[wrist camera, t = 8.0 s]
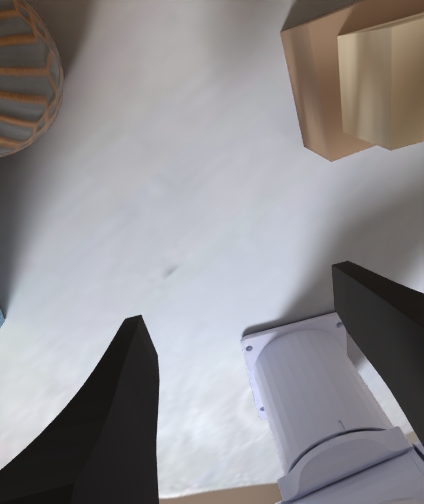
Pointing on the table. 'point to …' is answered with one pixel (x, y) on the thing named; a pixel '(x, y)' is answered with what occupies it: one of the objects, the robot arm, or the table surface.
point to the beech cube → (384, 82)
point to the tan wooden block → (331, 70)
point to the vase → (26, 77)
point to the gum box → (1, 318)
